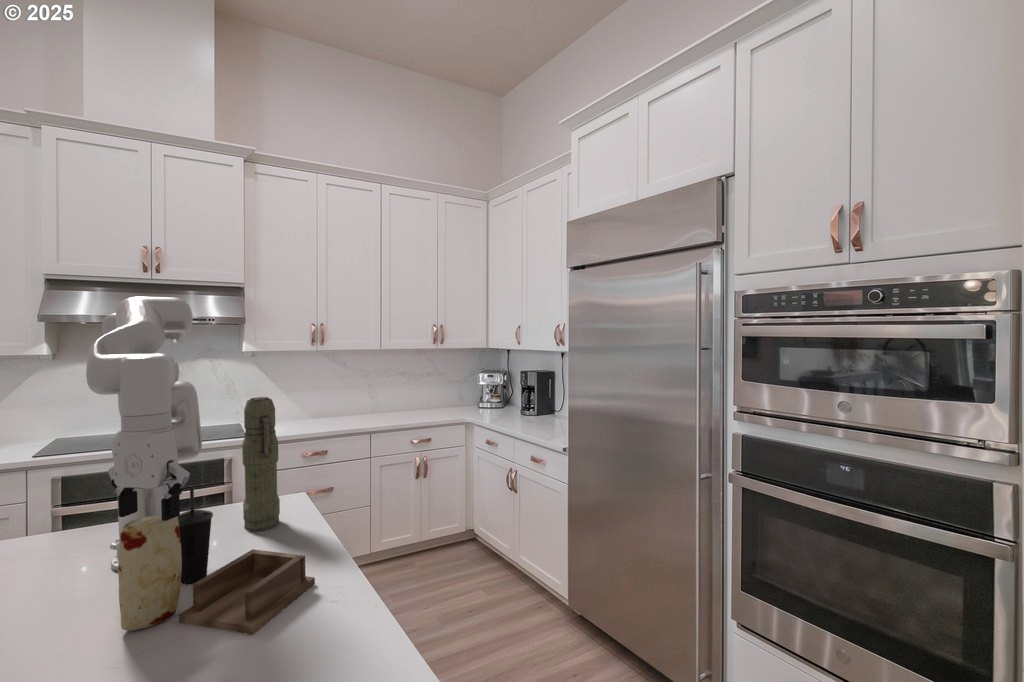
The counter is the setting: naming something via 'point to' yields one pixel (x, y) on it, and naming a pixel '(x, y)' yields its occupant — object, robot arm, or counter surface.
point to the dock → (248, 591)
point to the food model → (149, 571)
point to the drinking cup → (194, 542)
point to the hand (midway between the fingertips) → (149, 516)
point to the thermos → (260, 465)
